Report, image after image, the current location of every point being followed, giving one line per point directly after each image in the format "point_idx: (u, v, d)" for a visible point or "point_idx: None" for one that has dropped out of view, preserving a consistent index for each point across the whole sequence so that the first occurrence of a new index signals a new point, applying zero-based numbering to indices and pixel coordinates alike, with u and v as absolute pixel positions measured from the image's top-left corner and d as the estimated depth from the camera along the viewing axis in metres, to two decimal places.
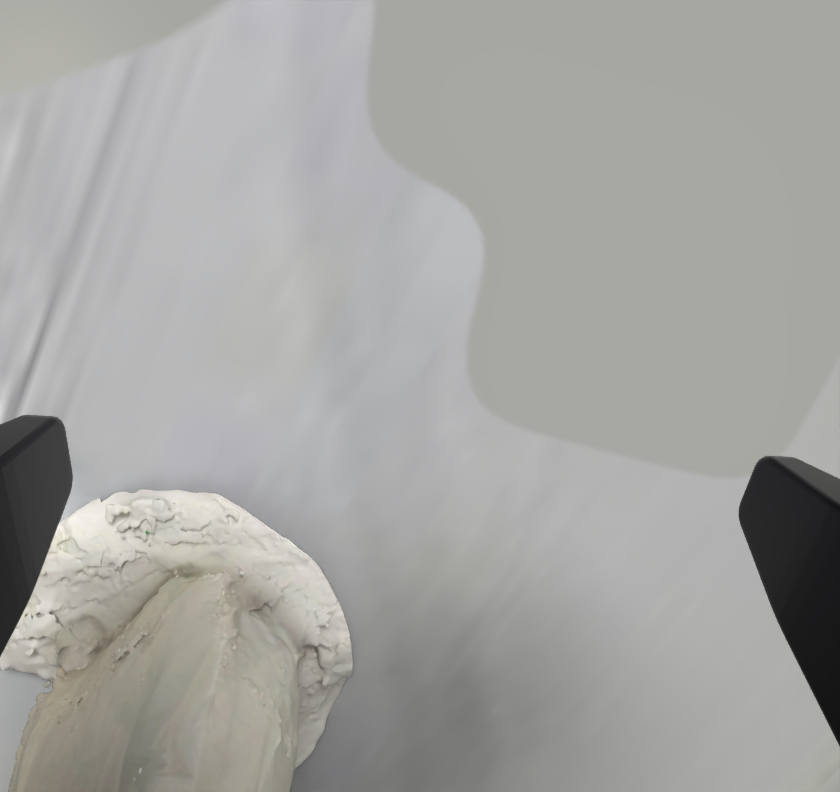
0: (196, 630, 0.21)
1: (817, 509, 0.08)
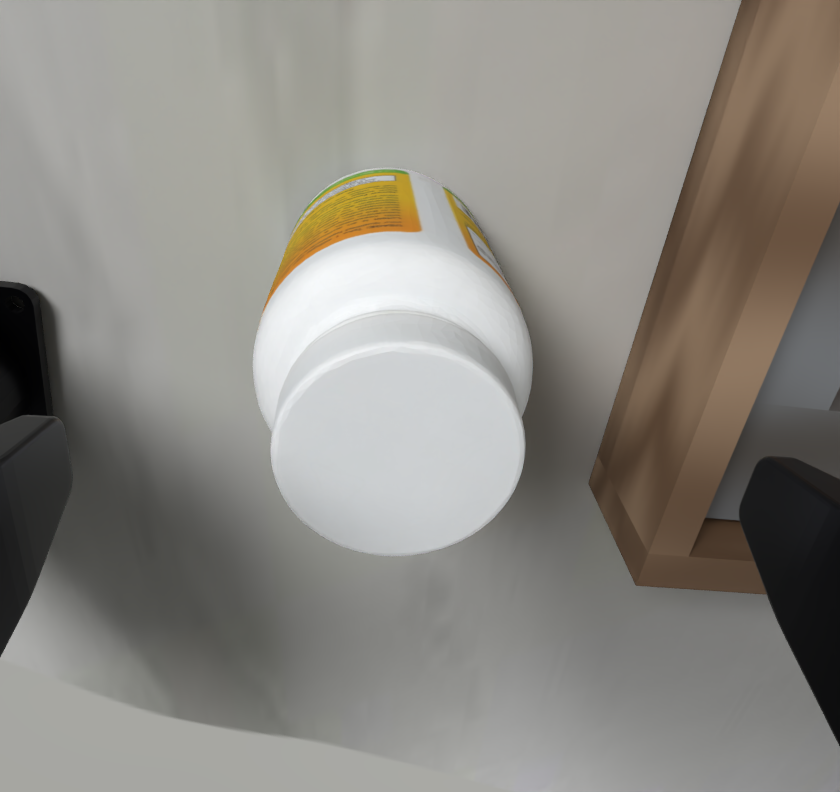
0: None
1: (817, 509, 0.08)
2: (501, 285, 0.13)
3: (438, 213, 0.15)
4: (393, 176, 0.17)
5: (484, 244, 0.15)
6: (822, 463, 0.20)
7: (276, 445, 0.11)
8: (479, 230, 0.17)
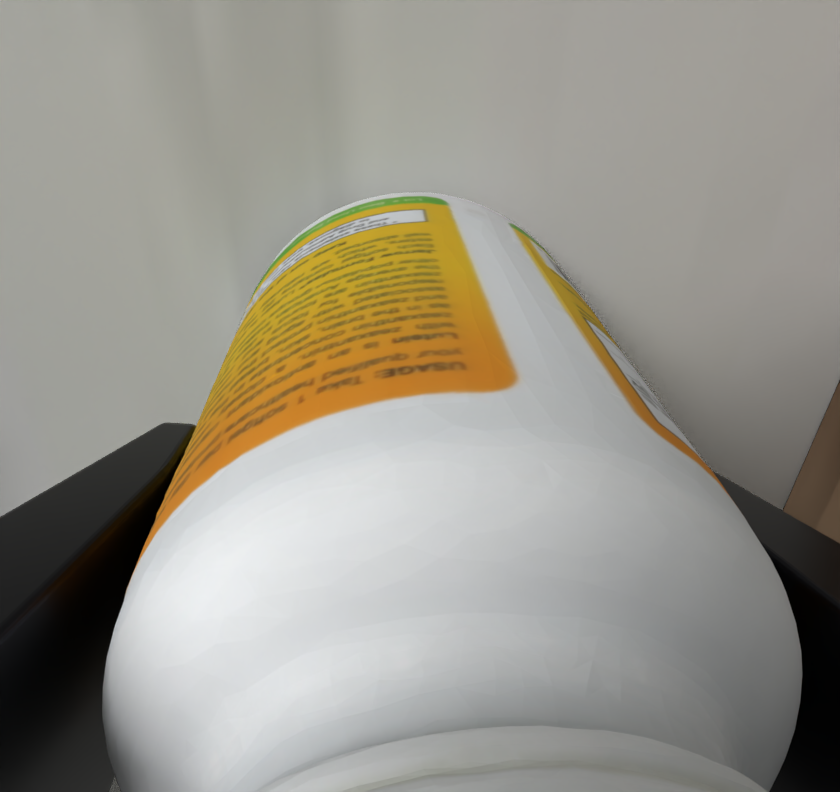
0: None
1: None
2: (739, 522, 0.05)
3: (530, 300, 0.07)
4: (421, 211, 0.09)
5: (624, 355, 0.07)
6: None
7: None
8: None
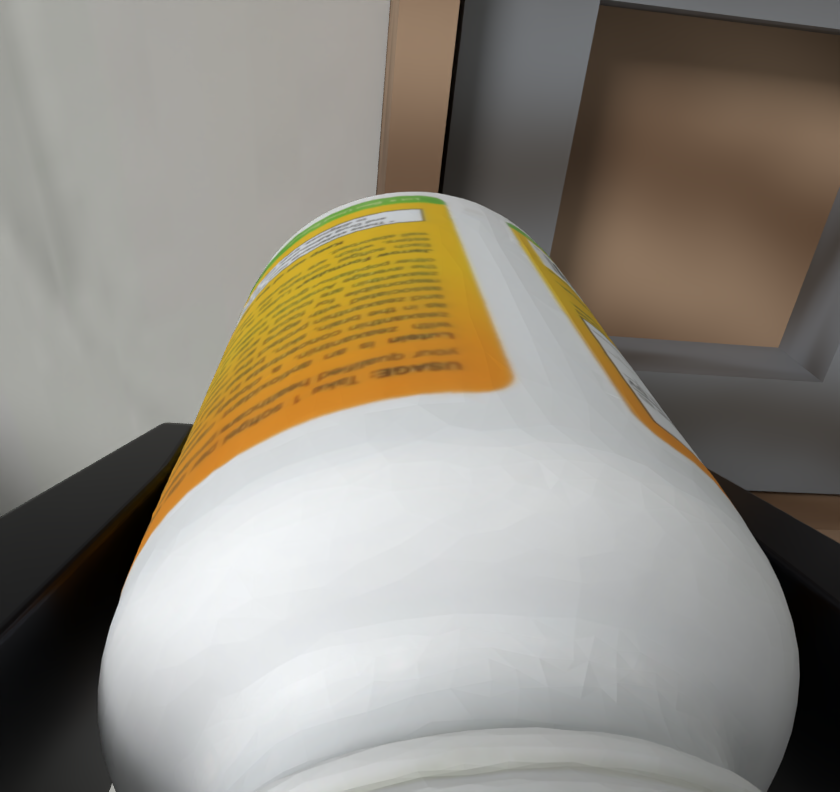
0: None
1: None
2: (736, 522, 0.05)
3: (527, 300, 0.07)
4: (418, 210, 0.09)
5: (621, 355, 0.07)
6: None
7: None
8: None
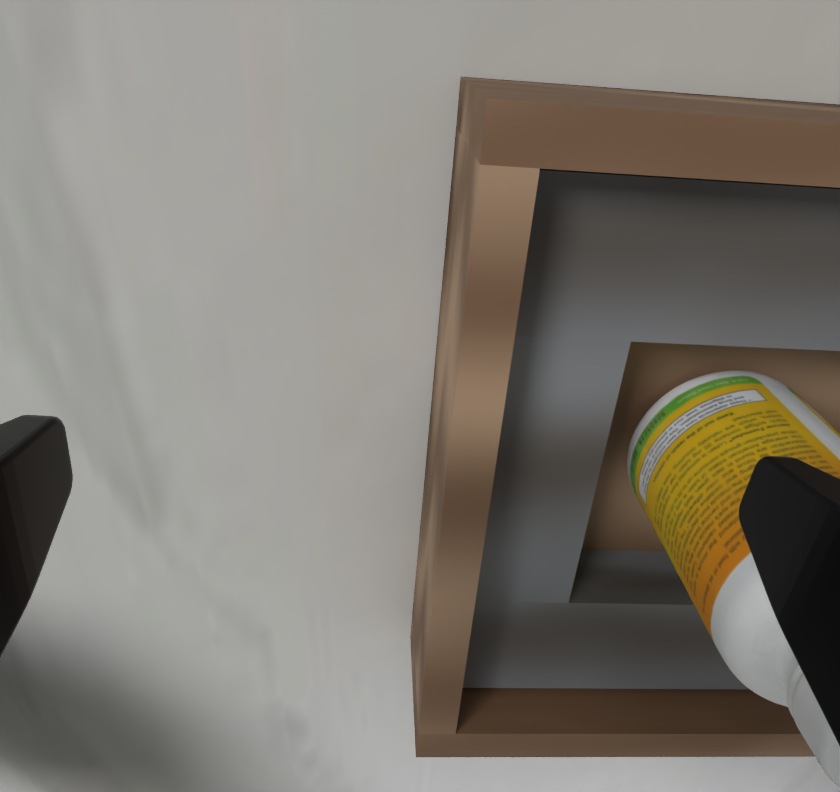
0: None
1: (817, 509, 0.08)
2: None
3: None
4: (755, 390, 0.19)
5: None
6: (577, 641, 0.23)
7: None
8: None
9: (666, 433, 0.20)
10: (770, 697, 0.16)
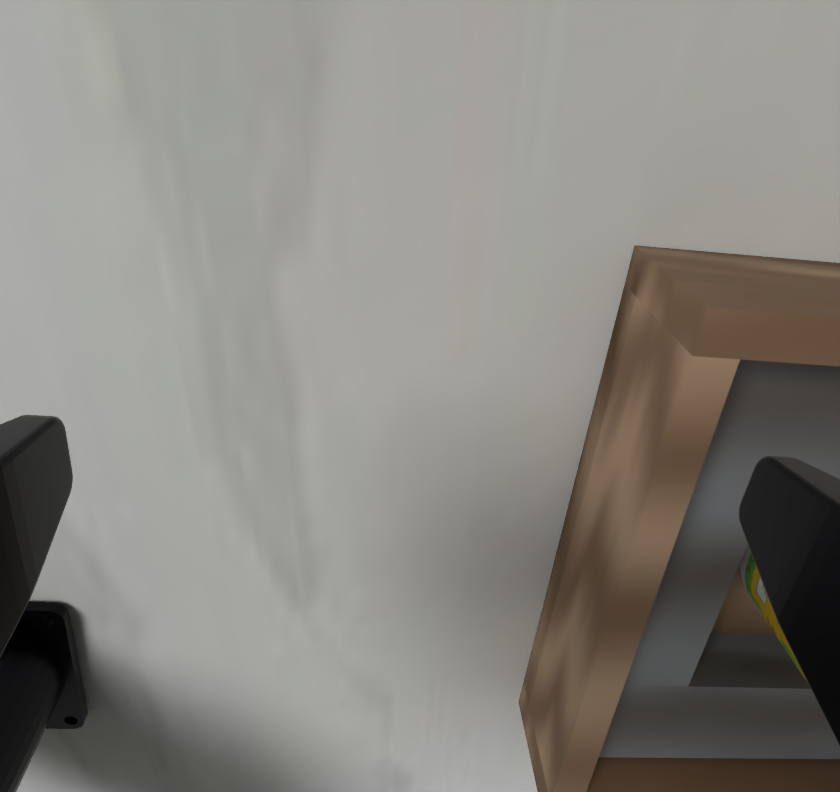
0: None
1: (817, 509, 0.08)
2: None
3: None
4: None
5: None
6: (690, 718, 0.25)
7: None
8: None
9: None
10: None
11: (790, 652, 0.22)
